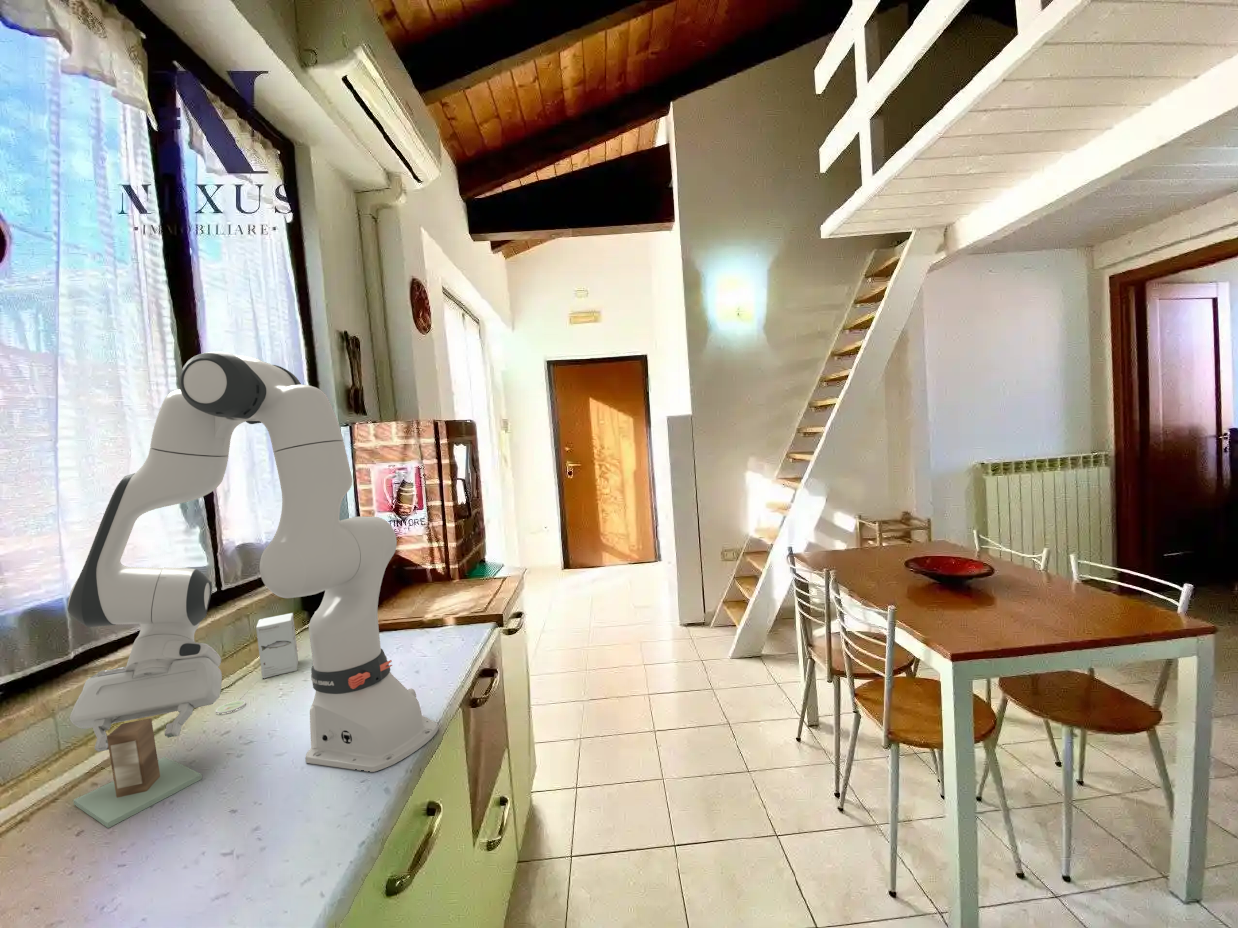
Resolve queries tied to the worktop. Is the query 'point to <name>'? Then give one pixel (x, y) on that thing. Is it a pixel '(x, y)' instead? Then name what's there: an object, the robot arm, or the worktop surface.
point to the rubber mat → (115, 809)
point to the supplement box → (277, 645)
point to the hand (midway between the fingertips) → (137, 742)
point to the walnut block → (133, 757)
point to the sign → (231, 706)
